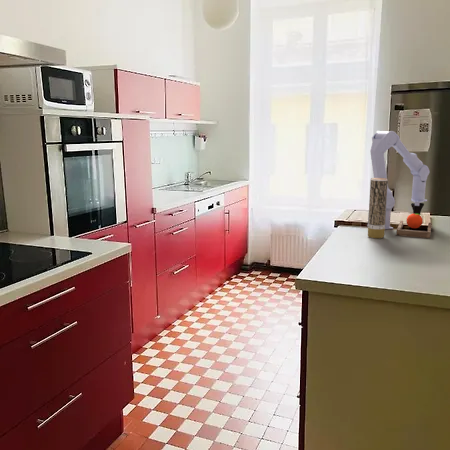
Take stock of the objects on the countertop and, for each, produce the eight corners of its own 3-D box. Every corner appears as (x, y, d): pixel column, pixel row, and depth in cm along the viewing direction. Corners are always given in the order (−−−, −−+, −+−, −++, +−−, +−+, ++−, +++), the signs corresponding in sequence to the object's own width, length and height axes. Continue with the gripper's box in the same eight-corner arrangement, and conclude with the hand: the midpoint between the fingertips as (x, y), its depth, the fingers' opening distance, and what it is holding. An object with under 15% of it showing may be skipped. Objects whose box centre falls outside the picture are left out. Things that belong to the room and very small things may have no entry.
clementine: (423, 227, 220) (424, 212, 218) (425, 230, 213) (426, 214, 212) (405, 226, 222) (406, 211, 220) (406, 229, 215) (407, 214, 214)
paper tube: (382, 235, 205) (385, 177, 200) (385, 239, 198) (389, 179, 193) (366, 235, 206) (369, 177, 200) (369, 238, 199) (372, 179, 194)
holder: (429, 238, 199) (430, 232, 198) (396, 235, 204) (396, 229, 204) (431, 228, 217) (431, 222, 217) (400, 225, 223) (400, 220, 222)
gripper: (427, 192, 213) (425, 222, 216) (428, 188, 226) (426, 216, 229) (410, 191, 216) (408, 220, 219) (412, 187, 229) (410, 215, 232)
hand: (416, 218), depth 224 cm, fingers closed
